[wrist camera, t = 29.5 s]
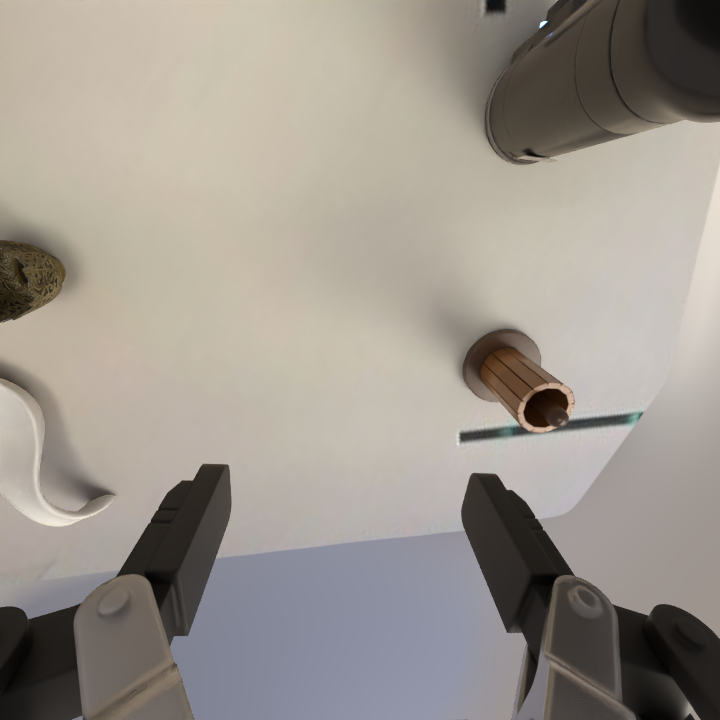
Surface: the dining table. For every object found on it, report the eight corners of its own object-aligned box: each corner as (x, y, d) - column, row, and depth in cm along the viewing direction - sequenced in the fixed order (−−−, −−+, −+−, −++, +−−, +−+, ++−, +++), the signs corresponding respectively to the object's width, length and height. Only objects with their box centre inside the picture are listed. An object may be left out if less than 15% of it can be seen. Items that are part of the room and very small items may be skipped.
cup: (102, 286, 39) (47, 303, 32) (48, 313, 40) (-17, 335, 32) (53, 222, 36) (-19, 223, 29) (-3, 251, 37) (-87, 260, 30)
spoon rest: (-64, 386, 42) (-139, 418, 36) (13, 348, 41) (-50, 373, 34) (74, 514, 51) (35, 558, 44) (141, 485, 50) (111, 526, 43)
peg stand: (471, 326, 44) (528, 372, 31) (545, 332, 45) (630, 379, 32) (456, 396, 47) (500, 462, 35) (524, 399, 48) (593, 466, 36)
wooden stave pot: (486, 346, 44) (526, 381, 34) (531, 349, 44) (582, 384, 35) (475, 388, 46) (511, 431, 37) (518, 390, 46) (563, 433, 37)
